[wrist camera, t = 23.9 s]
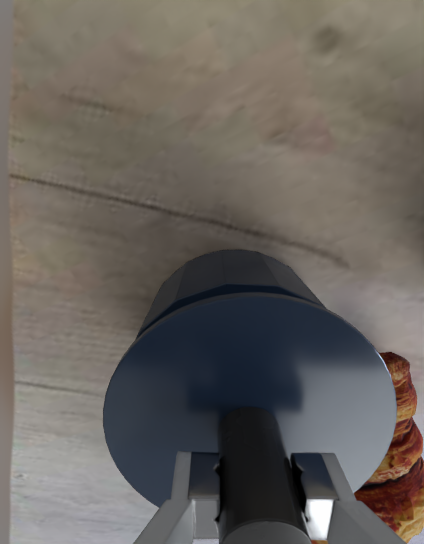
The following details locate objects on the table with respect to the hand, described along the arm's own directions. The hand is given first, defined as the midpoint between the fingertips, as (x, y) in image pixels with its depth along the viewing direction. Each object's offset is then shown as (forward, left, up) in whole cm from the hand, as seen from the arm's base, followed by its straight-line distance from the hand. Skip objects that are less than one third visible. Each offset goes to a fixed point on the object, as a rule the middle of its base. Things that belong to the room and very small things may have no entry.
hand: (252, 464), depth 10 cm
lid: (0, 0, -2) cm, 2 cm away
